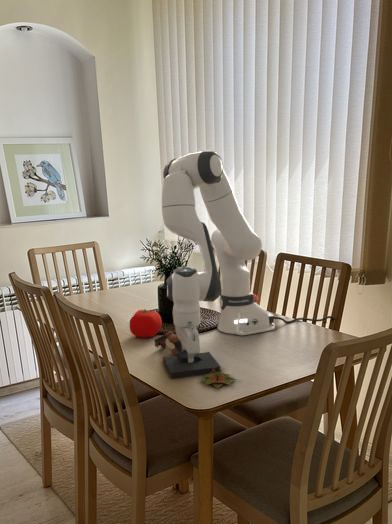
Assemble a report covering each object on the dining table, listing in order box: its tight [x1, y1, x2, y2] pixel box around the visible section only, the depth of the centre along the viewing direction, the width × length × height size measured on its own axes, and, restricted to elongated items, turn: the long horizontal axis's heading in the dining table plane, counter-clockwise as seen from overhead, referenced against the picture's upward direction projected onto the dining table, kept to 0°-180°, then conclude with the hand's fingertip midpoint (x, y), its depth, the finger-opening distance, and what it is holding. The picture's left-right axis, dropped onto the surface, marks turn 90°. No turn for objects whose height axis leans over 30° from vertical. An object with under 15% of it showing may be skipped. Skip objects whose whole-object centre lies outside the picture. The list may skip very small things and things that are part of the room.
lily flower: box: [197, 366, 239, 389], centre depth 167 cm, size 12×12×5 cm
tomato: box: [129, 308, 163, 339], centre depth 208 cm, size 11×13×10 cm
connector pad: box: [177, 351, 199, 363], centre depth 182 cm, size 6×6×3 cm
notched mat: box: [162, 351, 222, 379], centre depth 179 cm, size 16×14×2 cm
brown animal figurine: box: [153, 330, 183, 356], centre depth 194 cm, size 12×10×8 cm
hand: (188, 358), depth 182 cm, fingers closed on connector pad, 6 cm apart
